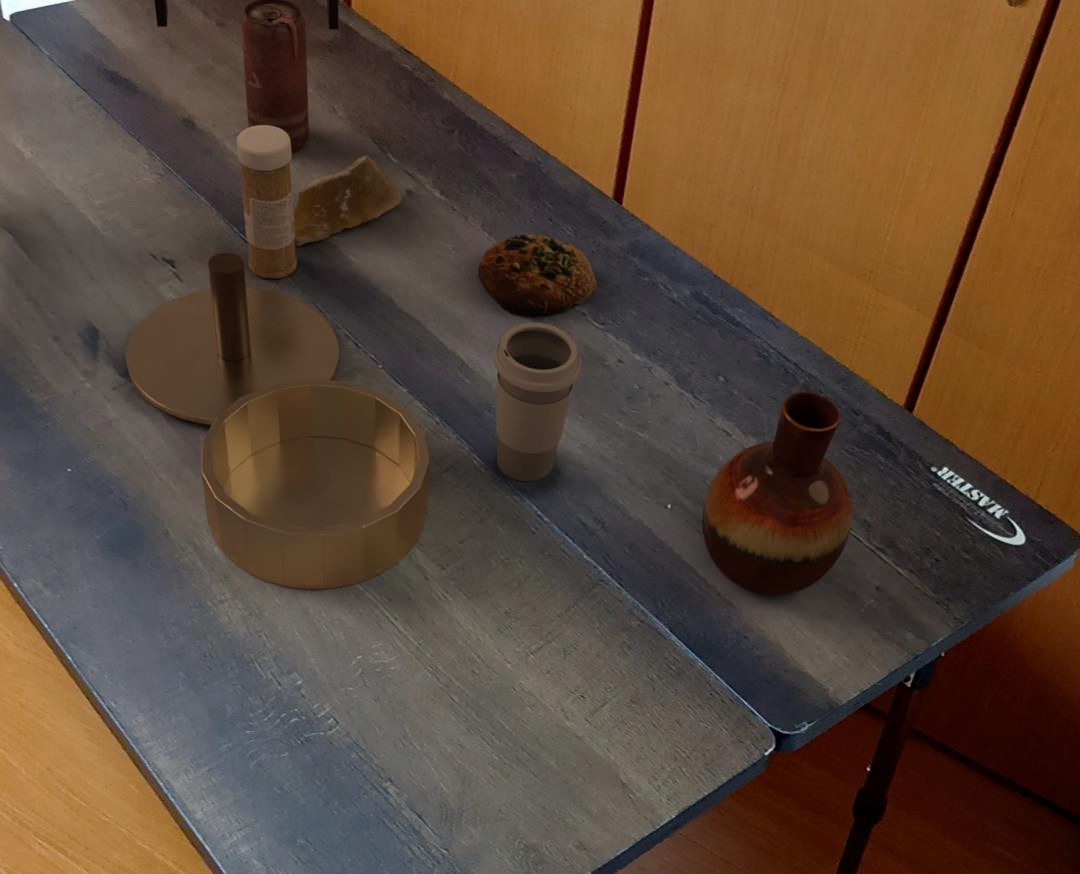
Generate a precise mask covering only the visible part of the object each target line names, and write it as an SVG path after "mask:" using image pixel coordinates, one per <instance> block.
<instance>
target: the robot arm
mask: <svg viewBox="0 0 1080 874" xmlns="http://www.w3.org/2000/svg"><path fill="white" fill-rule="evenodd" d="M154 9H155V10H154V11H155V19H156V26H157V28H160V27H161V28H168V1H167V0H154ZM326 16H327V24H328V29H329V30H339V29H340V28H339V0H326Z"/></svg>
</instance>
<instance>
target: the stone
mask: <svg viewBox="0 0 1080 874" xmlns="http://www.w3.org/2000/svg"><path fill="white" fill-rule="evenodd" d="M401 202H402V194H401V192H400V189H399V188H398V187H397V185H396V184H395V182H394V181H392V179H391V178H390V176H388V174H387V173H386V172H385V171H384V170H383V169H382V168H381V167H380V166H379V165H378V164H377V162H375V161H374V160H373V159H372V158H370V157H369V156H368V155H363V156H362V157H358V158H357V159H356V160H354V161H353V162H351V163H350V164H348V166H347V167H345V168H343V169H342V170H340V171H338V172H335V173H332V174H329V175H323V176H320V177H317V178H315V179H313V180H311V181H310V182H309V183H308V184H306V185H305V186H303V187H302V188H301V189H300V190H299V192H298V199H297V204H296V207H295V209H293V210H294V226H295V238H294V244H295V245H296V246H298V247H300V246H302V245H306V244H308V243H312V242H319V241H322V240H325V239H327V238H328V237H330V236H331V235H333V234H336V233H337V234H338V233H340V232H342V230H344V229H352V228H354V227H357V226H359V225H362V224H363V223H367V222H368V221H371V220H373V219H377V218H379V217H380V216H381V215H384V214H385V213H386V212H388V211H390V210H393V209H394V208H395V207H397V206H398V205H399V204H400V203H401Z"/></svg>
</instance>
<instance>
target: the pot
mask: <svg viewBox="0 0 1080 874" xmlns="http://www.w3.org/2000/svg"><path fill="white" fill-rule="evenodd" d="M426 436H427V435H426V434H425V432H424V430H423V429H422V428H421V427H420V425H419V424H418V423H417V421H416V419H415V418H414V417H413V416H412V414H411V413H410V411H409V410H408V409H406V408H405V407H404V406H402V405H400V404H399V403H398V402H396V401H395V400H393V399H391V398H390V397H389V396H388V395H386V394H384V393H383V392H381V391H378V390H375V389H371V388H369V387H365V386H363V385H360V384H357V383H354V382H350V381H345V380H334V379H333V380H321V379H303V380H296V381H290V382H283V383H277V384H272V385H269V386H267V387H265V388H262V389H260V390H257V391H255V392H253V393H250V394H248V395H245V396H243V397H241V398H239V399H238V400H237V401H236V402H234V403H233V404H232V405H231V406H230V407H228V408H227V409H226V410H225V411H224V412H222V413H221V414H220V415H219V416H218V417H216V418H215V420H214V421H213V423H212V425H210V427H209V429H208V430H207V433H206V435H205V436H204V439H203V440H202V442H201V446H200V451H201V452H200V453H201V459H200V460H201V465H200V466H201V468H200V469H201V471H200V473H201V479H202V488H203V493H204V494H203V495H204V503H205V512H206V519H207V520H206V521H207V525H208V526H209V528H210V532H211V534H212V535H211V536H213V539H214V541H215V542H216V545H217V546H218V547H219V548H220V550H221V551H222V553H223V554H224V555H225V556H226V557H227V558H228V559H229V560H230V561H231V562H232V563H233V564H235V565H236V566H238V567H239V568H240V569H241V570H243V571H244V572H246V573H248V574H250V575H252V576H254V577H256V578H258V579H260V580H262V581H265V582H268V583H270V584H275V585H277V586H281V587H287V588H293V589H301V590H302V589H303V590H328V589H338V588H343V587H347V586H352V585H356V584H358V583H361V582H366V581H368V580H370V579H372V578H375V577H377V576H379V575H381V574H383V573H384V572H386V571H388V570H389V569H391V568H392V567H394V566H395V565H396V564H398V563H399V562H400V561H402V560H403V559H404V558H405V557H406V555H408V553H409V552H410V551H411V549H412V548H413V547H414V546H415V544H416V542H418V540H419V537H420V535H421V533H422V531H423V527H424V524H425V519H426V515H427V513H428V497H429V477H430V476H429V475H430V455H429V449H428V444H427V439H426V438H427V437H426Z"/></svg>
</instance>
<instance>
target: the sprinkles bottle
mask: <svg viewBox="0 0 1080 874" xmlns="http://www.w3.org/2000/svg"><path fill="white" fill-rule="evenodd" d="M236 151H237V152H236V153H237V159H238V161H239V163H240V171H241V185H242V194H243V195H242V200H243V201H242V202H243V214H244V215H243V216H244V226H245V237H246V240H247V251H248V259H247V263H248V267H249V270H250V271H251V272H252V273H253V274H254V275H256V276H258V277H260V278H264V279H281V278H282V279H283V278H285V277H288V276H289V275H291V274H292V273H293V272H294V271H295V270H296V269H297V266H298V258H297V256H296V246H295V245H296V244H295V243H294V238H295V226H294V210H295V209H294V194H293V185H292V176H291V175H292V173H291V160H292V157H293V156H292V154H293V153H292V154H291V142H290V137H289V135H288V134H287V133H286V132H285V131H284V130H282V129H280V128H278V127H274V126H269V125H257V126H252V127H249V128H248V127H247V128H245V129H243V130H242V131H241V132H239V134H237V137H236Z"/></svg>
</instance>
